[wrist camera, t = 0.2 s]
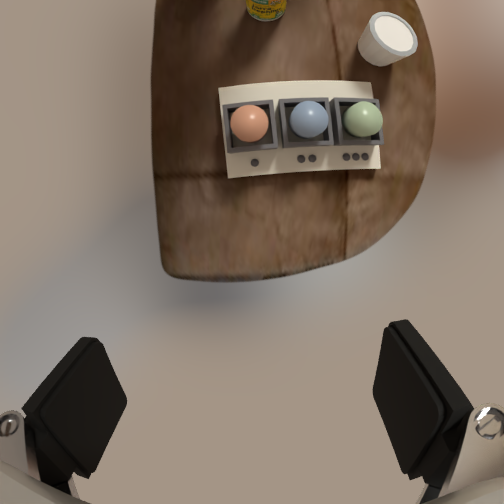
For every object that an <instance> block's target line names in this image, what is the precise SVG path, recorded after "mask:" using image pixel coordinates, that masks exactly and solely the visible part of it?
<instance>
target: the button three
mask: <svg viewBox="0 0 504 504" xmlns="http://www.w3.org/2000/svg"><path fill="white" fill-rule="evenodd" d="M382 123H383V119H382V115H381V112H380V111H379V109H378V108H377V107H376V106H375V105H374V104H372V103H370V102H366V101H362V102H358V103H356V104H355V105H353V106H351V107H349V108H348V109H346V110H345V111H344V113H343V115H342V126H343V128H344V130H345V131H346V132H347V133H348V134H349V135H351V136H353V137H357V138H361V137H365V136H370V135H374V134H376V133H377V132H378V131H379V130H380V129H381V127H382Z"/></svg>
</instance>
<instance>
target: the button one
mask: <svg viewBox="0 0 504 504" xmlns="http://www.w3.org/2000/svg"><path fill="white" fill-rule="evenodd" d="M230 125H231V129H232V131H233V133H234V134H235V135H236V136H237V137H238V138H239V139H240V140H241V141H243V142H246V143H255V142H258V141H260V140H261V139H262V138H263V137H264V136H265V135H266V133H267V129H268V117H267V115H266V113H265V112H264V111H263V110H262V109H261V108H259V107H257V106H254V105H245V106H242V107H240V108H238V109H237V110H236V111H235V112H234V113H233V115H232V117H231V121H230Z"/></svg>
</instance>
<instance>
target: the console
mask: <svg viewBox="0 0 504 504" xmlns="http://www.w3.org/2000/svg"><path fill="white" fill-rule="evenodd" d="M218 89H219V99H220V109H221V118H222V127H223V137H224V146H225V155H226V164H227V172H228V178H236V177H245V176H255V175H266V174H277V173H289V172H304V171H320V170H342V169H381V167H380V153H379V145H384V140H383V130H382V127H381V129H380V130H379V131H378V132H377V133H376V134H374V135H370V136H365V137H361V138H357V137H353V136H351V135H349V134H348V133H347V132H346V131H345V130H344V128H343V126H342V115H343V113H344V111H345V110H346V109H348V108H349V107H351V106H353V105H355V104H356V103H358V102H362V101H366V102H370V103H372V104H374V105H375V106H376V107H377V108H378V109H379V111H380V105H379V99H373V93H372V87H371V82H357V81H326V80H314V81H283V82H268V83H256V84H246V85H238V86H230V87H222V88H218ZM304 101H314V102H316V103H319V104H320V105H321V106H323V107H324V109H325V110H326V112H327V114H328V125H327V128H326V129H325V130H324V131H323V132H322V133H321V134H319V135H317V136H315V137H313V138H310V139H303V138H300V137H298V136H296V135H295V134H294V133H293V132H292V131H291V129H290V127H289V117H290V115H291V113H292V111H293V110H294V108H295V107H296V106H297V105H298V104H299V103H301V102H304ZM245 105H254V106H257V107H259V108H261V109H262V110H263V111H264V112H265V113H266V115H267V117H268V129H267V133H266V135H265V136H264V137H263V138H262V139H261V140H260V141H258V142H255V143H246V142H243V141H241V140H240V139H239V138H238V137H237V136H236V135H235V134H234V133H233V131H232V129H231V125H230V121H231V117H232V115H233V113H234V112H235V111H236V110H237V109H238V108H240V107H242V106H245Z"/></svg>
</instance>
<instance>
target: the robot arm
mask: <svg viewBox="0 0 504 504" xmlns="http://www.w3.org/2000/svg"><path fill="white" fill-rule="evenodd" d="M373 397H374V400H375V402H376V404H377V407H378V410H379V412H380V415H381V417H382V419H383V422H384V425H385V427H386V430H387V433H388V435H389V438H390V441H391V443H392V446H393V449H394V451H395V454H396V457H397V460H398V462H399V465H400V468H401V471H402V472H403V473H404V474H408V476H409V479H410V480H412V479H415V478H418V477H420V476H423V479H424V482H425V483H426V484H425V487H424V488H423V491H422V492H421V495H420V497H419V499H418V501H417V503H416V504H504V408H503V407H501V406H500V405H497V404H492V403H487V404H482V405H480V406H478V407H476V408H475V409H474V408H473V406H472V405H471V403H470V401H469V400H468V398H467V397H466V395H465V394H464V393H463V391H462V390H461V388H460V387H459V385H458V384H457V383H456V381H455V380H454V378H453V377H452V376H451V374H450V373H449V372H448V370H447V369H446V368H445V366H444V365H443V364H442V362H441V361H440V360H439V358H438V357H437V356H436V354H435V353H434V352H433V351H432V349H431V348H430V347H429V345H428V344H427V343H426V342H425V340H424V339H423V338H422V336H421V335H420V334H419V333H418V331H417V330H416V329H415V328H414V327H413V326H412V324H411V323H410V322H409V321H408V320H400V321H394V322H391V323H390V324H389V326H388V327H386V328H385V329H384V332H383V338H382V344H381V350H380V355H379V361H378V366H377V371H376V376H375V380H374V385H373ZM126 405H127V398H126V395H125V393H124V391H123V389H122V387H121V385H120V382H119V381H118V378H117V376H116V374H115V372H114V369H113V367H112V365H111V363H110V360H109V358H108V356H107V353H106V351H105V348H104V346H103V344H102V343H101V342H100V341H99V340H98V339H97V338H91V337H82V338H80V339H79V340H78V342H77V343H76V344H75V345H74V346H73V347H72V348H71V349H70V351H69V352H68V353H67V354H66V355H65V356H64V357H63V359H62V360H61V361H60V362H59V363H58V364H57V365H56V367H55V368H54V369H53V370H52V372H51V373H50V374H49V375H48V376H47V377H46V379H45V380H44V381H43V382H42V383H41V385H40V386H39V387H38V388H37V389H36V391H35V392H34V393H33V394H32V396H31V397H30V398H29V400H28V401H27V402H26V403H25V404H24V406H23V407H22V410H23V411H24V413H25V414H26V417H25V419H24V417H23V416H22V415H21V413H19V412H18V411H14V410H12V411H7V412H4V413H3V414H1V415H0V504H90V503H87V502H85V501H82V500H80V499H79V496H78V493H77V490H76V487H75V484H74V481H73V477H72V474H73V472H75V473H76V474H77V475H79V476H82V477H84V478H87V479H89V477H90V475H91V473H93V472H95V470H96V468H97V466H98V464H99V461H100V460H101V457H102V455H103V453H104V451H105V449H106V446H107V445H108V442H109V440H110V438H111V436H112V434H113V432H114V430H115V428H116V426H117V424H118V421H119V419H120V417H121V416H122V413H123V411H124V409H125V407H126Z"/></svg>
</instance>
